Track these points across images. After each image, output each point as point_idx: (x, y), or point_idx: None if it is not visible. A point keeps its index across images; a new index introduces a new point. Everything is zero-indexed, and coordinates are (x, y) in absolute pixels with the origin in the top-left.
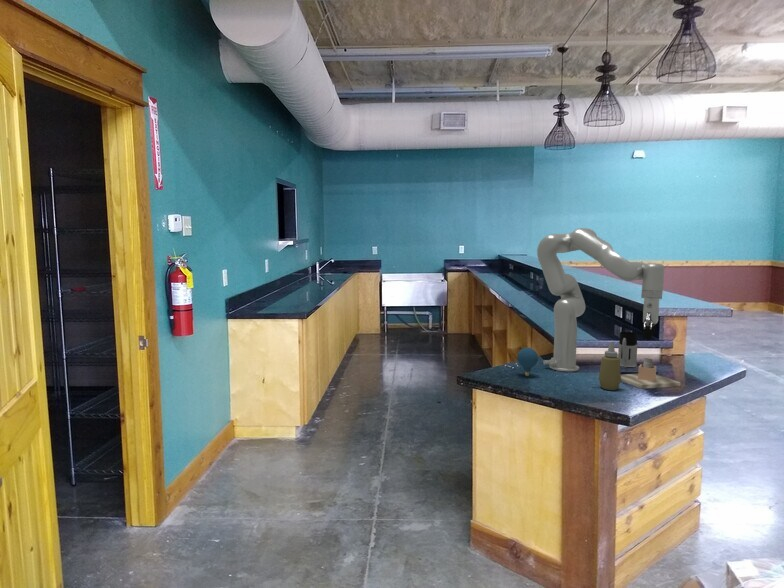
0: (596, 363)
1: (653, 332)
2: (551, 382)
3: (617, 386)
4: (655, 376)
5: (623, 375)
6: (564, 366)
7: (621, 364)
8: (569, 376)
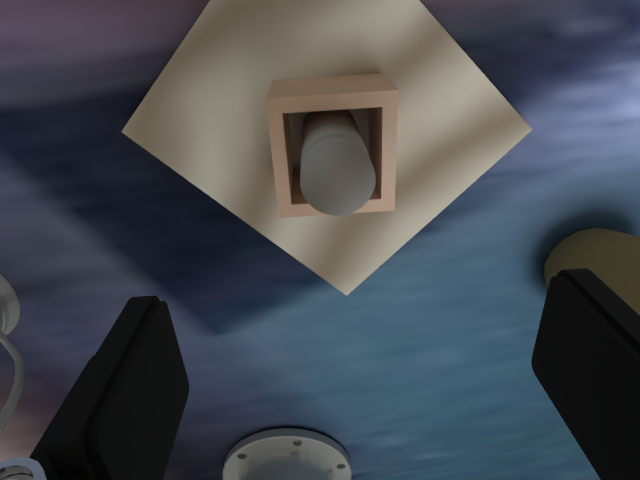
0: None
1: (148, 336)
2: (562, 441)
3: (626, 233)
4: (311, 81)
5: (330, 259)
6: (334, 476)
7: (7, 321)
8: (421, 424)
